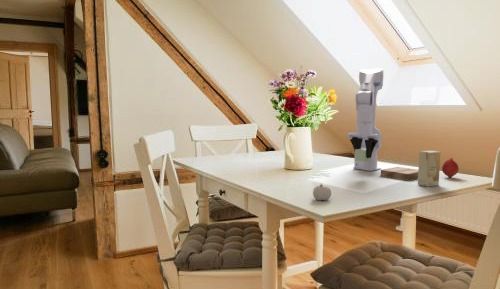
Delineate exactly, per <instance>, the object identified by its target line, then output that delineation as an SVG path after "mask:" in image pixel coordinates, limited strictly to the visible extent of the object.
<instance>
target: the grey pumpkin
mask: <svg viewBox="0 0 500 289" xmlns="http://www.w3.org/2000/svg"><path fill="white" fill-rule="evenodd" d="M312 192H313V193H312V195H313V198H314V200H316V201H319V200H325V201H327V200H329V199H330V198H331V196H332V189H331V188H330V187H329V186H328V185H323V183H320V184H319V185H316V186H315V187H314V188H313V191H312Z"/></svg>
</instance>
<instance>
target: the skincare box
mask: <svg viewBox="0 0 500 289" xmlns="http://www.w3.org/2000/svg"><path fill="white" fill-rule="evenodd" d="M418 153H419V154H418V169H417V170H418V178H417V185H419V186H423V187H427V188H429V187H435V186H439V185H440V184H439V183H440V168H441V166H440V165H441V154H442V153H441V151H438V150H421V151H419V152H418Z"/></svg>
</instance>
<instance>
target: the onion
mask: <svg viewBox="0 0 500 289" xmlns="http://www.w3.org/2000/svg"><path fill="white" fill-rule="evenodd" d="M459 169H460V168H459V165H458V163H457V162H456V161H455V160H454V159H453V157H450V158H448V159H447V160H446V161H445V162H443V164H442V167H441V171H442V173H443V174H444V175H445V176H447V177H448V178H451V179H452V178H453V177H454V176H455V175H457V174H458V172H459Z"/></svg>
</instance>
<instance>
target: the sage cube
mask: <svg viewBox="0 0 500 289" xmlns="http://www.w3.org/2000/svg"><path fill="white" fill-rule="evenodd" d="M354 160H355V161H361V162H367V161H372V156H371V158H367V157H366V149H363V148H361V149H355V151H354Z"/></svg>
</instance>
